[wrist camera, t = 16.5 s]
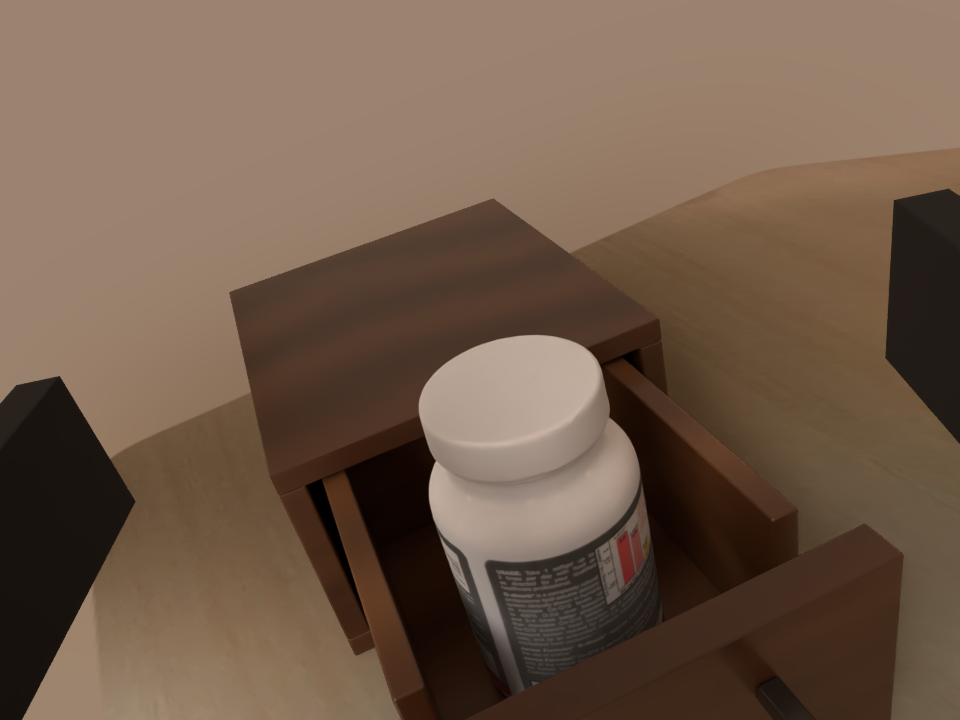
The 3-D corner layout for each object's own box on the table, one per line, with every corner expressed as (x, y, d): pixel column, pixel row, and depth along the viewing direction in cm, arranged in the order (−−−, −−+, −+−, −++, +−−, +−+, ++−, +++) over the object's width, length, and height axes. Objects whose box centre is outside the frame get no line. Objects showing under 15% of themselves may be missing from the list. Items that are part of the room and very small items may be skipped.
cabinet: (682, 506, 31) (659, 318, 27) (355, 656, 29) (269, 475, 24) (526, 343, 44) (493, 198, 40) (292, 435, 42) (228, 292, 37)
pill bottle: (694, 599, 25) (662, 334, 20) (625, 759, 21) (563, 482, 16) (535, 555, 28) (472, 315, 23) (451, 687, 24) (352, 435, 19)
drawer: (1049, 899, 18) (1107, 716, 14) (543, 1220, 15) (461, 1096, 12) (623, 449, 34) (600, 310, 30) (344, 571, 31) (283, 435, 28)
